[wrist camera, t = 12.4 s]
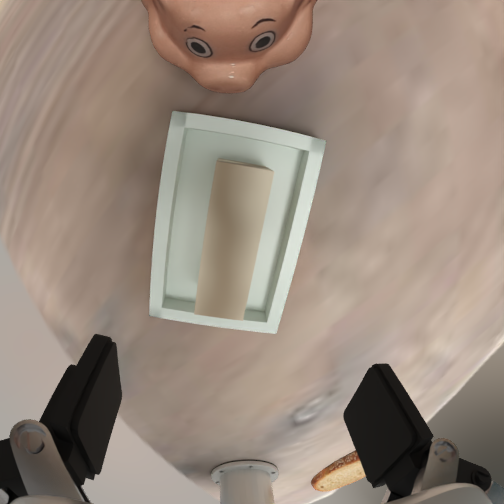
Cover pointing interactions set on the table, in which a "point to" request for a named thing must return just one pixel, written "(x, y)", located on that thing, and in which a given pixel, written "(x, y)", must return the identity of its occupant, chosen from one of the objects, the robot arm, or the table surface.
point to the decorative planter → (229, 37)
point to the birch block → (232, 238)
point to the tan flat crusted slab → (339, 473)
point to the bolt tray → (196, 209)
